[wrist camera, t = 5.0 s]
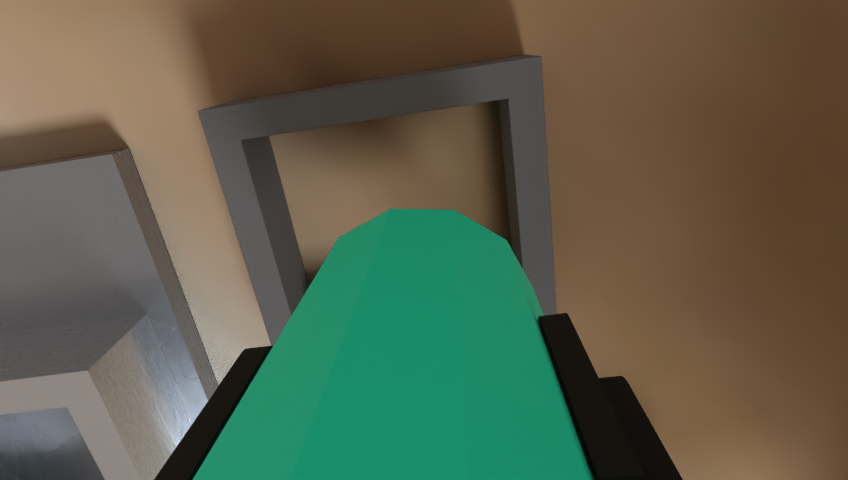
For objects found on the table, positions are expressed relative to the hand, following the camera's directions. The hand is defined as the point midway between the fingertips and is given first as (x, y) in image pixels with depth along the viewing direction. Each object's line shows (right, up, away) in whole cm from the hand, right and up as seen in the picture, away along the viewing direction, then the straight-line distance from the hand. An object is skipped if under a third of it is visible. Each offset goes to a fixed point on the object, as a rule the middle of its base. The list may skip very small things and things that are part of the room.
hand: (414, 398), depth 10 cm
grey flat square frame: (-1, +4, +8) cm, 9 cm away
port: (-15, -5, +12) cm, 19 cm away
